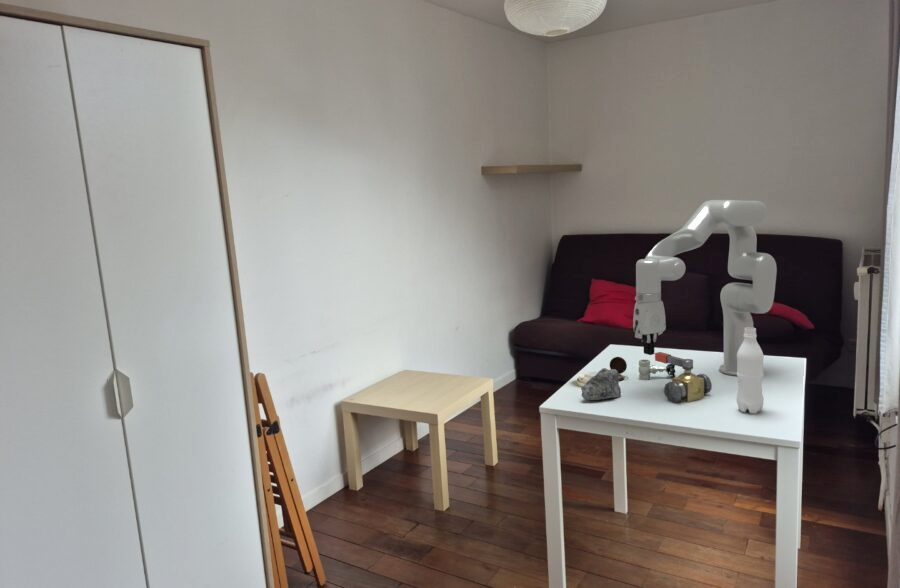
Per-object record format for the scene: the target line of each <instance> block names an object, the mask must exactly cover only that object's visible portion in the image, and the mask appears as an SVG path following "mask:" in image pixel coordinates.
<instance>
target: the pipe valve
mask: <svg viewBox="0 0 900 588" xmlns="http://www.w3.org/2000/svg"><path fill="white" fill-rule="evenodd" d="M683 370H684V371H683V372H682V373H680V374H679V375H678V376H675V378H671V381H669V382H667V383H665V385H664V388H663V391H664V392H663V393H664V396H665V397H666V399H667V400H668V401H669V402H671V403H673V404H674V403H677V402H680V401H682V402H685V403H690V402H694V401H698V400H701V399H704V398H705V394H708V393H711V390H712V387H713V386H712V385H713V384H712V380H711V379H710V377H709V376H708V375H707V374H704V373H699V374H695V373H693V372H692V369H691V370H686V369H683Z"/></svg>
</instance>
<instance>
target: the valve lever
mask: <svg viewBox="0 0 900 588" xmlns="http://www.w3.org/2000/svg"><path fill="white" fill-rule="evenodd" d="M654 360H655V362H659V363H663V364H666V365H668V364H673V365H675V366H677V367H680V368H682V369H683V370H684V369H686V370H691V371H692V370H693V369H694V360H693V359H692V358H680V357H677V356H674V355H672V354H669V353H666V352H662V351H658V352H654Z"/></svg>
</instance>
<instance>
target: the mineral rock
mask: <svg viewBox="0 0 900 588" xmlns="http://www.w3.org/2000/svg"><path fill="white" fill-rule="evenodd" d="M618 376H619V375H618V372H617V370H615V369H612V370H611V369H607V368H606V367H604V368H601V369H600V370H598V372H597V373H596V374H595V375H594V376H592V377H591V378H590V379H589V380H588V381H586V383H585V384H584V385H582V386H581V387H580V390H581V397H582V398H583V399H584V400H590V401H592V400H593V401H600V400H605V399H611V398H619V397H621V395H622V392H621V390H622V389H621V386H620V385H619V382H620V381H619V378H618Z"/></svg>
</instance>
